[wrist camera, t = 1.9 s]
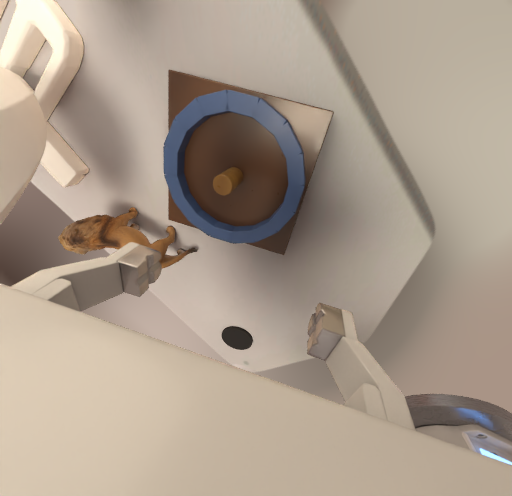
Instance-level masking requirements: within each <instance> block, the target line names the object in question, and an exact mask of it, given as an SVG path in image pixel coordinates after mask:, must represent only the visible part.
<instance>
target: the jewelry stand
mask: <svg viewBox="0 0 512 496" xmlns="http://www.w3.org/2000/svg"><path fill="white" fill-rule="evenodd" d="M15 1H16V9H15V12H14V15H13V18H12V21H11V23H10V26H9V29H8V31H7V34H6V37H5V40H4V43H3V45H2V48H1V51H0V224H1V223H2V222H3V221H4V219H5V218H6V217H7V215H8V214H9V213H10V211H11V210H12V208H13V207H14V206H15V204H16V203H17V201H18V200H19V198H20V197H21V195H22V194H23V192H24V191H25V189H26V187H27V186H28V184H29V182H30V180H31V179H32V177H33V175H34V173H35V171H36V169H37V167H38V165H39V163H41V164H42V165H43V167H44V168H45V169H46V170H47V171H48V172H49V173H50V174H51V175H52V176H53V177H54V178H55V179H56V180H57V181H58V182H59V184H60V185H61V186H62V187H68V186H72V185H76V184H78V183H79V182H80V181H81V180H82V179H83V178H84V176H85V174H87V173H88V172H89V168H88V167H87V166H86V165H85V164H84V163H83V161H82V160H81V159H80V158H79V157H78V156H77V155H76V153H75V152H74V151H73V150H72V149H71V148H70V146H69V145H68V144H67V143H66V142H65V141H64V140H63V138H62V137H61V136H60V135H59V134H58V133H57V132H56V130H55V129H54V128H53V127H52V126H51V125H50V124H49V122H48V121H47V120H48V119H49V117H50V115H51V114H52V112H53V110H54V109H55V107H56V106H57V104H58V102H59V101H60V99H61V97H62V96H63V94H64V93H65V91H66V89H67V88H68V86H69V84H70V83H71V81H72V79H73V78H74V76H75V75H76V73H77V71H78V70H79V68H80V65H81V61H82V58H83V50H84V45H83V41H82V37H81V35H80V34H79V32H78V31H77V30H76V28H75V27H74V25H73V24H72V23H71V21H70V20H69V19H68V17H67V16H66V14H65V13H64V12H63V10H62V9H61V8H60V6H59V5H58V3H57V2H56V1H53V0H15ZM7 3H8V0H0V19H1V16H2V14H3V12H4V9H5V7H6V5H7ZM45 40H47V41H48V42H49V43H50V45H51V46H52V47H53V54H52V56H51V58H50V61H49V63H48V65H47V67H46V69H45V71H44V73H43V75H42V77H41V79H40V81H39V83H38V85H37V87H36V89H35V91H33V89H32V88H31V87H30V86H29V85H28V84H27V82H26V81H25V80H24V79H23V77H24V75H25V73H26V71H27V69H29V68H30V66H31V64H32V63H33V61H34V60H35V58H36V56H37V54H38V52H39V51H40V49H41V47H42V45H43V44H44V42H45Z"/></svg>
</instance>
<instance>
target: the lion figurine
mask: <svg viewBox="0 0 512 496" xmlns="http://www.w3.org/2000/svg"><path fill="white" fill-rule="evenodd" d="M137 214H138V212H137V210H136V209H135V208H134V207H132V208H130V209H129V213H126V214H122V215H120V216H118V217H116V218H114V217H111V216H109V215H102V216H101V215H96V216H93V217H88V218H85V219H82V220H79V221H76V222H74V223H72V224H71V225H68V226H67V227H66V228H65V229H64V230H63V232H62V234H61V235H60V236H59V237H58V239H59V240H60V243H61V244H62V245H63V247H64V248H65V249H66V250H68V251H74V252H75V253H78V254H86V253H87V252H88V251H92V250H97V249H103V248H105V247H107V248H115V249H118V250H119V249H120V248H122V247H123V246H125V245H126V244H128V243H129V242H134V243H137V244H140V245H143V246H146V247H149V248H152V249H155V250H158V251H160V252H161V259H160V260H159V262H160V263H161V265H162V268H165V267H168V266H170V265H172V264H174V263H176V262H178V261H179V260H181V259H182V258H183V257H184V256H185V255H187V254H189V253H192V252H197V249H195V248H192V249H189V250H187V251H185V252H184V251H183V250H182V249H179V250H178V251H177V253H178V255H177V256H170V255H165V253H166V251H167V248H168V246H169V245H170V244H171V243H173V242H174V237H175V230H174V228H173V227H172V226H168V227H167V230H166V232H167V233H169V236H168V237H167V238H164V239H161V240H157V241H156V242H154V243H153V244H150V242H149V240H148V239H147V238H146V236H145V235H144V234H143V233H141V232H140V231H138V230H139V226H138V225H137V224H135V223H133V224H131V226H130V227H129V226H127V224H128V221H129V220H131V219H133V218H135V217H136V215H137Z"/></svg>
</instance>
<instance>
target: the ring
mask: <svg viewBox="0 0 512 496" xmlns="http://www.w3.org/2000/svg"><path fill="white" fill-rule="evenodd" d="M229 112H233V113H237V114H241V115H244V116H248V117H252V118H254V119H255V120H256V121H257V122H259V123H260V124H261V125H262V126H263V127H265V128H266V129H267V130H268V131H269V132H271V133H272V134H273V135H274V137H275V139H276V140H277V142H278V144H279V146H280V148H281V150H282V152H283V154H284V156H285V158H286V163H287V173H288V188H287V191H286V194H285V198H284V201H283V203H282V204H281V205H280V206H279V208H278V209H277V210H276V211H275V212H274V214H273V215H272V216H271V217H270V218H268V219H266V220H264V221H262V222H260V223H258V224H256V225H251V226H237V227H235V226H232V225H229V224H226V223H222V222H219V221H217V220H216V219H214V218H213V217H212V216H210V215H209V214H208V213H206V212H205V211H203V210H202V209H201V207H200V206H199V204H198V203H197V202H196V200H195V199H194V197H193V196H192V195H191V193H190V191H189V187H188V184H187V181H186V178H185V174H184V159H185V149H186V147H187V145H188V143H189V140H190V138H191V136H192V134H193V131H194V130H195V129H197V128H198V127H199V126H200V125H201V124H202V123H204V122H205V121H206V120H207V119H208V118H210V117H211V116H216V115H220V114H224V113H229ZM164 145H165V146H164V174H166V175H164V176H165V179H166V181H167V184H168V187H169V190H170V193H171V196H172V198H173V200H174V202H175V204H176V205H177V206H178V208H179V209H180V210H181V212H182V213H183V214H184V216H185V217H186V218H187V220H188V221H190V220H191V221H190V223H192V224H193V225H194V226H196V227H197V228H199V229H200V230H201V231H203V232H204V233H206V234H207V235H208V236H210V237H213V238H217V239H220V240H223V241H226V242H229V243H233V244H234V243H255V242H258V241H260V240H262V239H265V238H267V237H269V236H271V235H273V234H275V233H277V232H279V231H280V230H281V229H282V227H283V226H284V225H285V224H286V223H287V222H288V221H289V220H290V219H291V218H292V216H293V215H294V214H295V212H296V210H297V207H298V204H299V202H300V199H301V196H302V193H303V190H304V187H305V167H304V152H302V151H303V149H302V147H301V145H300V143H299V141H298V139H297V137H296V134H295V132H294V130H293V128H292V126H291V124H290V122H288V120H287V119H286V118H285V117H284V116H283V115H281V114H280V113H279V112H278V111H277V110H276V109H274V108H273V107H272V106H271V105H270V104H269V103H267V102H266V101H265V100H263V99H262V98H259V97H256V96H252V95H248V94H244V93H240V92H236V91H232V90H222V91H218V92H214V93H210V94H207V95H203V96H199V97H197V98H195V99H194V100H193V101H192V102H191V103H189V104H188V105H187V106H186V107H185V108H184V109H183V110H182V111H181V112H180V113H179V114H178V115H177V116H176V117H175V119H174V120H173V122H172V125H171V128H170V130H169V133H168V135H167V138H166V141H165V143H164Z"/></svg>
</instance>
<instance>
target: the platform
mask: <svg viewBox="0 0 512 496" xmlns="http://www.w3.org/2000/svg"><path fill="white" fill-rule="evenodd" d="M222 90H232V91H236V92H240V93H244V94H248V95H252V96H256V97H259V98H262V99H263V100H265V101H266V102H267V103H269V104H270V105H271V106H272V107H273V108H274V109H276V110H277V111H278V112H279V113H280V114H281V115H283V116H284V117H285V118H286V119H287V120H288V122H290V124H291V126H292V128H293V130H294V132H295V134H296V137H297V139H298V141H299V143H300V145H301V147H302V149H303V151H302V152H304V167H305V187H304V190H303V193H302V196H301V199H300V202H299V204H298V207H297V210H296V212H295V214H294V215H293V216H292V218H291V219H290V220H289V221H288V222H287V223H286V224H285V225H284V226H283V227H282V229H281V230H280V231H279V232H277V233H275V234H273V235H271V236H269V237H267V238H265V239H262V240H260V241H258V242H255V243H247V244H250V245H253V246H256V247H259V248H263V249H266V250H269V251H272V252H276V253H279V254H282V255H284V253H285V250H286V247H287V244H288V242H289V239H290V236H291V233H292V230H293V227H294V224H295V222H296V219H297V216H298V213H299V210H300V207H301V204H302V202H303V199H304V196H305V193H306V190H307V187H308V184H309V182H310V179H311V176H312V173H313V170H314V167H315V164H316V162H317V159H318V156H319V153H320V150H321V147H322V144H323V142H324V139H325V136H326V133H327V130H328V127H329V124H330V122H331V119H332V116H333V113H334V112H333V111H329V110H325V109H322V108H318V107H314V106H310V105H306V104H302V103H298V102H294V101H290V100H286V99H282V98H279V97H275V96H271V95H267V94H263V93H259V92H255V91H251V90H247V89H243V88H239V87H235V86H232V85H228V84H224V83H220V82H216V81H212V80H208V79H204V78H200V77H196V76H192V75H189V74H185V73H181V72H177V71H173V70H169V130H170V128H171V125H172V122H173V120H174V119H175V117H176V116H177V115H178V114H179V113H180V112H181V111H182V110H183V109H184V108H185V107H186V106H187V105H188V104H189V103H191V102H192V101H193V100H194V99H195V98H197V97H199V96H203V95H207V94H210V93H214V92H218V91H222ZM184 174H185V178H186V181H187V184H188V187H189V191H190V193H191V195H192V196H193V197H194V199H195V200H196V202H197V203H198V204H199V206H200V207H201V209H202V210H203V211H205V212H206V213H208V214H209V215H210V216H212V217H213V218H214V219H216V220H217V221H219V222H222V223H226V224H229V225H232V226H235V227H237V226H251V225H256V224H258V223H260V222H262V221H264V220H266V219H268V218H270V217H271V216H272V215H273V214H274V212H275V211H276V210H277V209H278V208H279V206H280V205H281V204H282V203H283V201H284V198H285V194H286V191H287V188H288V173H287V163H286V158H285V156H284V154H283V152H282V150H281V148H280V146H279V144H278V142H277V140H276V139H275V137H274V135H273V134H272V133H271V132H269V131H268V130H267V129H266V128H265V127H263V126H262V125H261V124H260V123H259V122H257V121H256V120H255V119H254V118H252V117H248V116H244V115H241V114H237V113H233V112H229V113H224V114H220V115H216V116H211V117H210V118H208V119H207V120H206V121H205V122H204V123H202V124H201V125H200V126H199V127H198V128H197V129H195V130H194V131H193V134H192V136H191V138H190V140H189V143H188V145H187V147H186V149H185V159H184ZM169 220H172V221H175V222H178V223H182V224H185V225H188V226H191V227H195V228H197V227H196V226H194V225H193V224H192V223H190V221H191V220H190V221H188V220H187V218H186V217H185V216H184V214H183V213H182V212H181V210H180V209H179V208H178V206H177V205H176V204H175V202H174V200H173V198H172V196H171V193H170V190H169ZM198 229H199V228H198Z"/></svg>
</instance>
